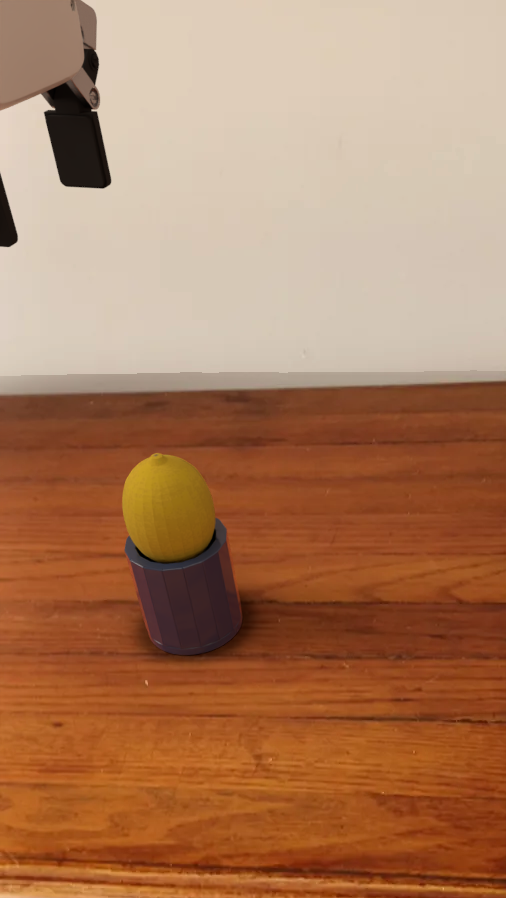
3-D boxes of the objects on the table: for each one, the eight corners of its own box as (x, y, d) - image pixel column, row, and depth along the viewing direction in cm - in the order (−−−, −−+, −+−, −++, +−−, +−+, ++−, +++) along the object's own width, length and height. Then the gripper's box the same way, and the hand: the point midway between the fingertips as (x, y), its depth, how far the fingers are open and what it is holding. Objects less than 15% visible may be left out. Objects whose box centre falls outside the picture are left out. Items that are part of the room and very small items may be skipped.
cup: (131, 646, 63) (106, 561, 59) (174, 588, 68) (153, 505, 63) (219, 662, 62) (200, 576, 57) (257, 601, 66) (242, 517, 62)
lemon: (207, 530, 64) (185, 423, 59) (236, 573, 60) (215, 462, 55) (128, 555, 63) (98, 447, 57) (152, 601, 59) (123, 490, 54)
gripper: (-19, -192, 49) (65, 165, 61) (-282, -178, 37) (-115, 265, 49) (109, -201, 47) (171, 170, 59) (-125, -190, 35) (11, 276, 47)
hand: (42, 213), depth 54 cm, fingers open, 9 cm apart
